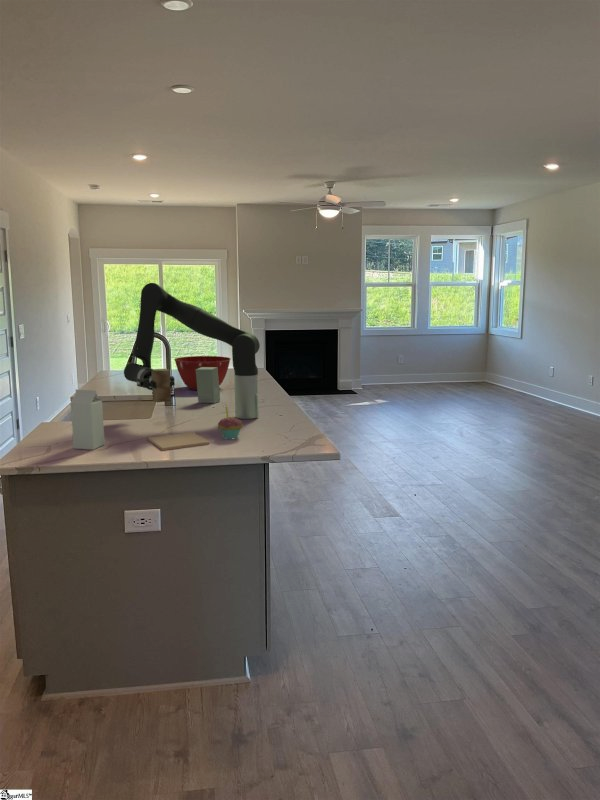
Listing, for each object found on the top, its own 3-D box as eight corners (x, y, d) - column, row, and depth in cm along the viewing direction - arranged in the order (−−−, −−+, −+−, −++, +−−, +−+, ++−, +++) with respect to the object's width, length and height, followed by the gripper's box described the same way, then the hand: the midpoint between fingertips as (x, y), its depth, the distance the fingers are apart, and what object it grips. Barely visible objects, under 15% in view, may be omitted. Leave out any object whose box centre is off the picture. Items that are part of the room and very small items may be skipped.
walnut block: (166, 398, 223) (165, 368, 221) (170, 401, 219) (169, 370, 217) (152, 400, 221) (151, 369, 218) (156, 402, 216) (155, 371, 214)
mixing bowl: (203, 382, 338) (202, 354, 335) (242, 387, 321) (242, 357, 318) (163, 389, 315) (162, 359, 312) (204, 394, 299) (203, 363, 296)
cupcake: (232, 441, 209) (231, 407, 207) (213, 438, 214) (212, 404, 211) (247, 436, 216) (247, 402, 214) (228, 433, 221) (227, 400, 219)
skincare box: (220, 401, 282) (219, 366, 279) (213, 404, 275) (212, 368, 272) (203, 400, 285) (202, 366, 282) (196, 403, 278) (195, 368, 275)
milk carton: (93, 450, 199) (89, 391, 196) (73, 449, 200) (69, 391, 197) (104, 444, 206) (101, 388, 202) (85, 443, 207) (81, 387, 204)
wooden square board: (192, 434, 220) (192, 432, 220) (209, 444, 206) (209, 441, 206) (147, 439, 212) (147, 437, 212) (162, 450, 198) (162, 448, 198)
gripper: (129, 369, 227) (142, 375, 212) (167, 367, 233) (182, 372, 219) (130, 390, 228) (143, 397, 213) (168, 386, 235) (183, 393, 220)
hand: (163, 384), depth 216 cm, fingers closed on walnut block, 5 cm apart
